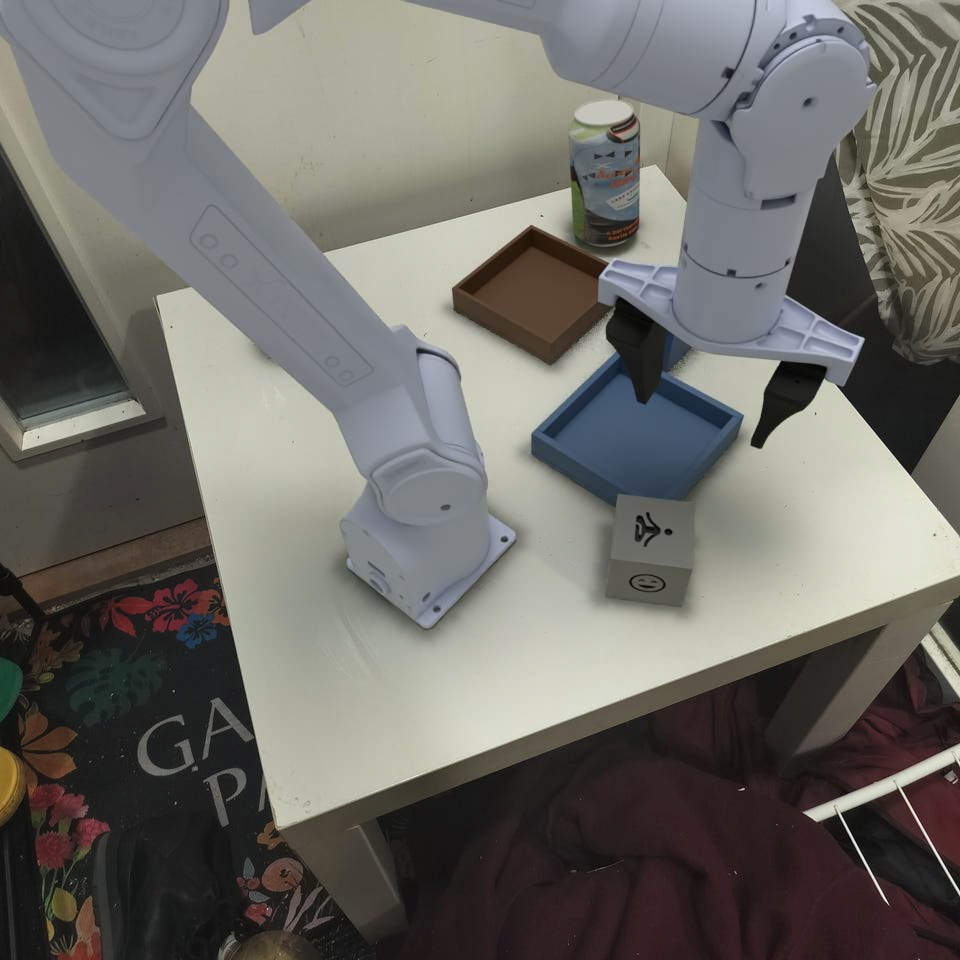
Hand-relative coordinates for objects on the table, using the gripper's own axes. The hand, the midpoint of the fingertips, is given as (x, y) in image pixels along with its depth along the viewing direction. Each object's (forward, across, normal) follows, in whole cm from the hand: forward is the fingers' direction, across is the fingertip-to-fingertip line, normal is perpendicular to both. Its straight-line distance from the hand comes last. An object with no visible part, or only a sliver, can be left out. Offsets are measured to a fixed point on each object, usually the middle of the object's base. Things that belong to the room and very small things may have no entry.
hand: (702, 414), depth 53 cm
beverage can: (+10, +19, -24) cm, 32 cm away
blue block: (+9, +8, -13) cm, 18 cm away
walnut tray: (+9, +19, -13) cm, 25 cm away
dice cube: (+9, 0, +7) cm, 12 cm away
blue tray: (+9, +5, -2) cm, 11 cm away
